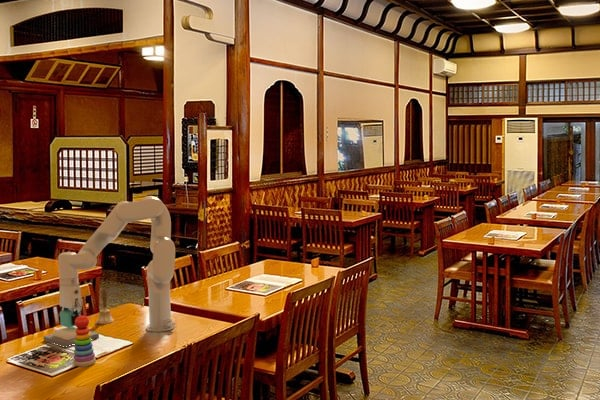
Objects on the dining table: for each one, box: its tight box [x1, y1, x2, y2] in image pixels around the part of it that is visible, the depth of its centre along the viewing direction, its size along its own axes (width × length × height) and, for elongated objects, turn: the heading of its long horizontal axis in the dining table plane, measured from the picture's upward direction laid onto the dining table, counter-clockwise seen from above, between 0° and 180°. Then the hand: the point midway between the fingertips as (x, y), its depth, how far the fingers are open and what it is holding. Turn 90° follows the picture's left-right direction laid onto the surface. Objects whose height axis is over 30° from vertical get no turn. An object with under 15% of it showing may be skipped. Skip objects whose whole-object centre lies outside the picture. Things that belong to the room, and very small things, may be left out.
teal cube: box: [59, 309, 82, 328], centre depth 261 cm, size 6×6×6 cm
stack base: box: [43, 326, 100, 347], centre depth 262 cm, size 16×16×5 cm
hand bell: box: [95, 287, 115, 325], centre depth 288 cm, size 8×8×16 cm
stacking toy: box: [72, 314, 97, 367], centre depth 232 cm, size 8×8×19 cm
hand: (70, 322), depth 261 cm, fingers closed on teal cube, 5 cm apart
